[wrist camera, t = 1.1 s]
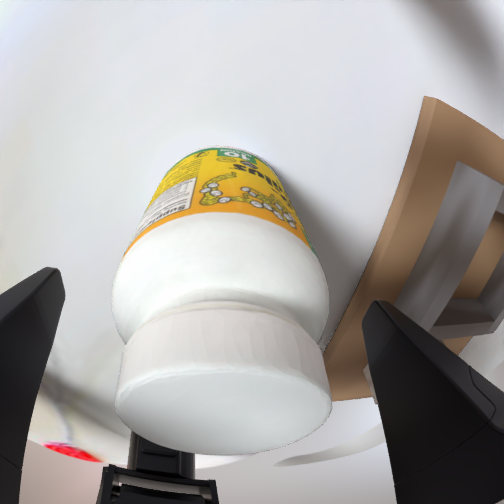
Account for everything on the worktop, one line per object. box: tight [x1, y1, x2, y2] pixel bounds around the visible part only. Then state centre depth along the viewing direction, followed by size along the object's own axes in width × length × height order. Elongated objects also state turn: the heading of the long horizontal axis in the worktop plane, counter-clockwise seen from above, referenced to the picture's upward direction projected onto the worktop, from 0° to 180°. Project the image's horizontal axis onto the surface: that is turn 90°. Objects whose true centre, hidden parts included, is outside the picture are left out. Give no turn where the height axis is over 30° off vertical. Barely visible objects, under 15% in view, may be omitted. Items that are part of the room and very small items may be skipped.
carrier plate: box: [323, 96, 504, 404], centre depth 15 cm, size 22×14×4 cm, turn 170°
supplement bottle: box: [112, 145, 332, 455], centre depth 9 cm, size 5×5×10 cm
